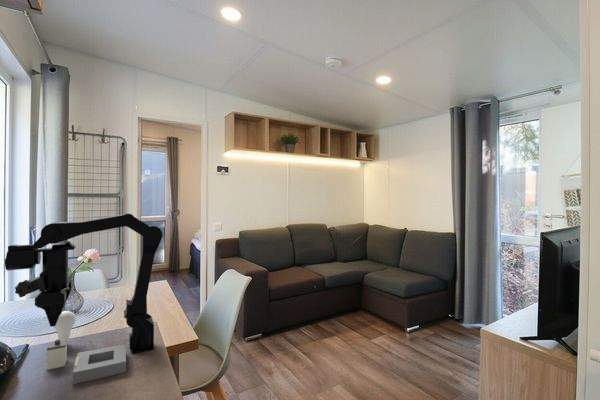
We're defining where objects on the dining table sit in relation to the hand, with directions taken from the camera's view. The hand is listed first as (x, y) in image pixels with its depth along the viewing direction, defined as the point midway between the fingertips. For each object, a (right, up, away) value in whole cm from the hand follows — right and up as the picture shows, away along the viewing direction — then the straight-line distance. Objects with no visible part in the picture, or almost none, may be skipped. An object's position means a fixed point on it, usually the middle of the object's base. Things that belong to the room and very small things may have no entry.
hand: (55, 320), depth 89 cm
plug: (0, -13, 0) cm, 13 cm away
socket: (+14, -13, -1) cm, 19 cm away
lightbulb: (-7, -13, +12) cm, 19 cm away
